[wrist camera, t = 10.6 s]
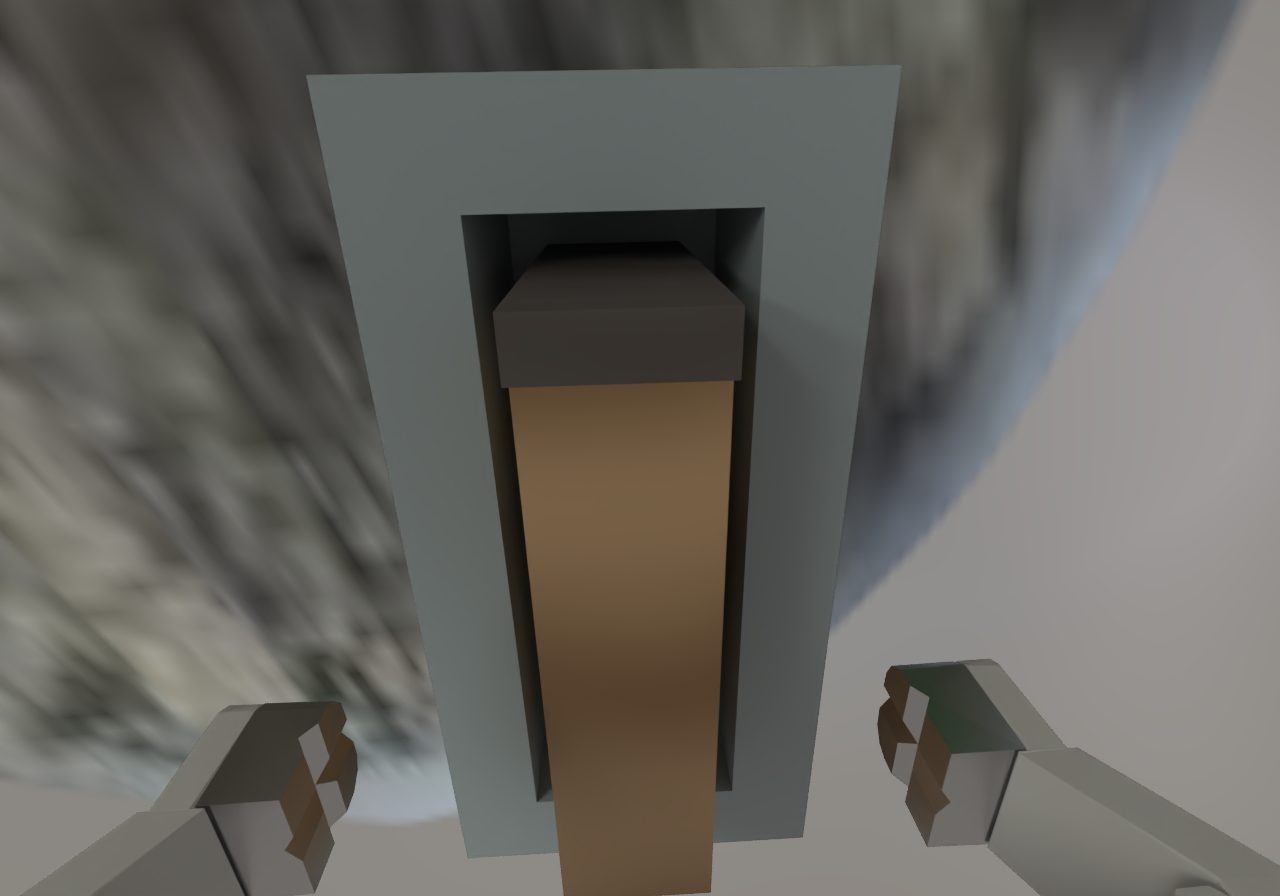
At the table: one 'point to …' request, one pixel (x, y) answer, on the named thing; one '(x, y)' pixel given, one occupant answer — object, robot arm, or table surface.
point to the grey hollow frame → (480, 409)
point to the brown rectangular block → (626, 546)
